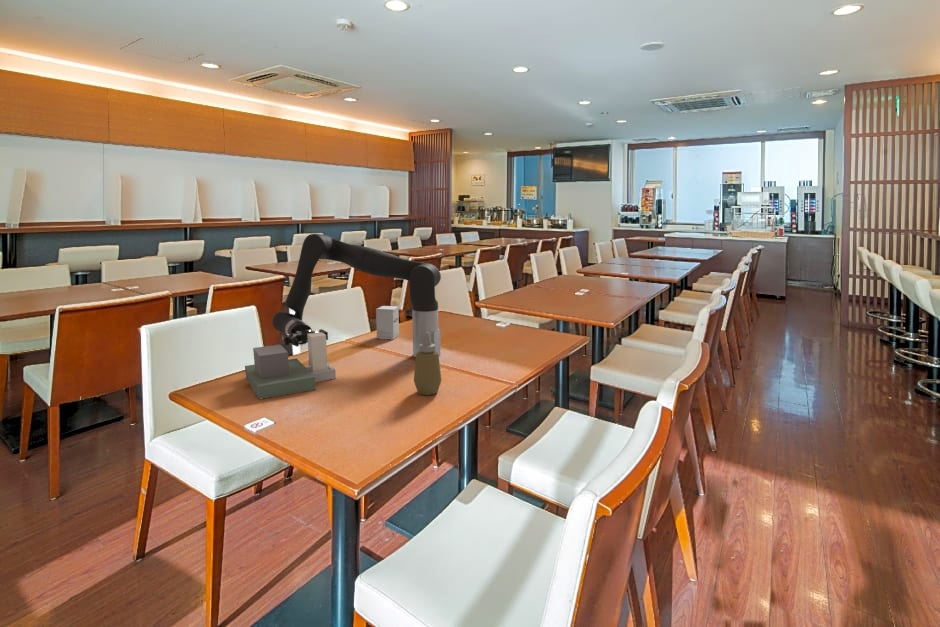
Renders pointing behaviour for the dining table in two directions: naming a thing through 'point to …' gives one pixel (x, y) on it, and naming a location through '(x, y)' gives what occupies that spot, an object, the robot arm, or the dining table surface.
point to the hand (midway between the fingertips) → (310, 341)
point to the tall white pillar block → (317, 352)
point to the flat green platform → (281, 373)
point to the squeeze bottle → (427, 368)
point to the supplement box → (387, 322)
